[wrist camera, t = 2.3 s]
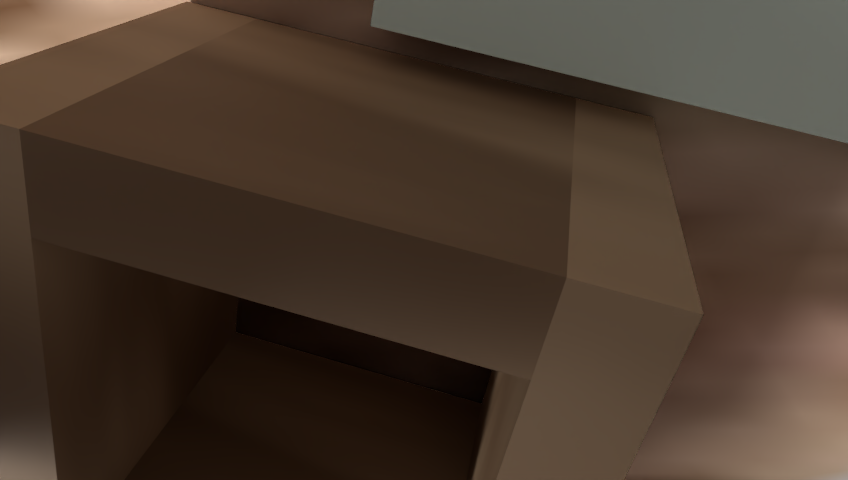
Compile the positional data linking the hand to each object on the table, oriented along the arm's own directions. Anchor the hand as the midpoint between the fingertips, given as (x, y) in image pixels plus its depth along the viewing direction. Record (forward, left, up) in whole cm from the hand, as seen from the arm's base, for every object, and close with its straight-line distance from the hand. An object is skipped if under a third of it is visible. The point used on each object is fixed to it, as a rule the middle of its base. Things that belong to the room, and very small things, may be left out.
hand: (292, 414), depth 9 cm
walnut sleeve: (0, 0, -4) cm, 4 cm away
